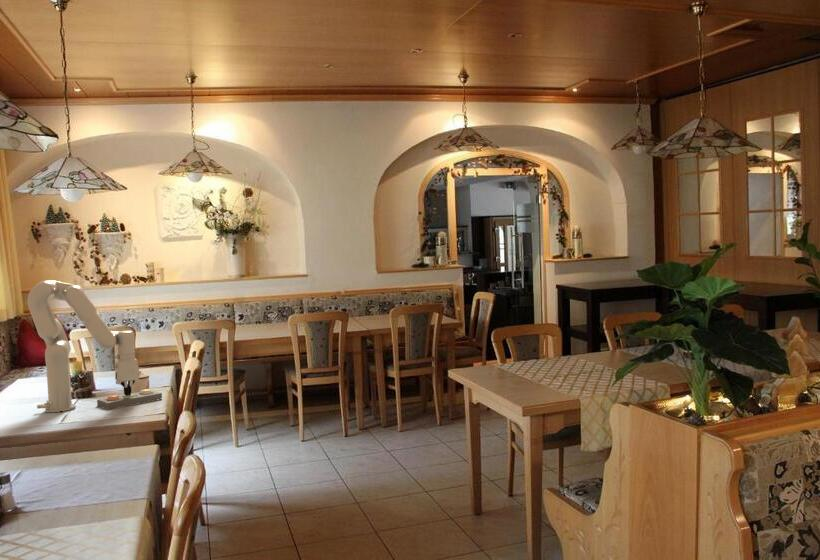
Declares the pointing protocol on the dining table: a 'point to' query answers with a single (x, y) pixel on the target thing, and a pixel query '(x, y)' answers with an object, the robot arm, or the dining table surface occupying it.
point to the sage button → (130, 396)
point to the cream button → (145, 391)
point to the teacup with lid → (141, 383)
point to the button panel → (128, 400)
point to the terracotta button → (113, 397)
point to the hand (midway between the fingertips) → (127, 395)
